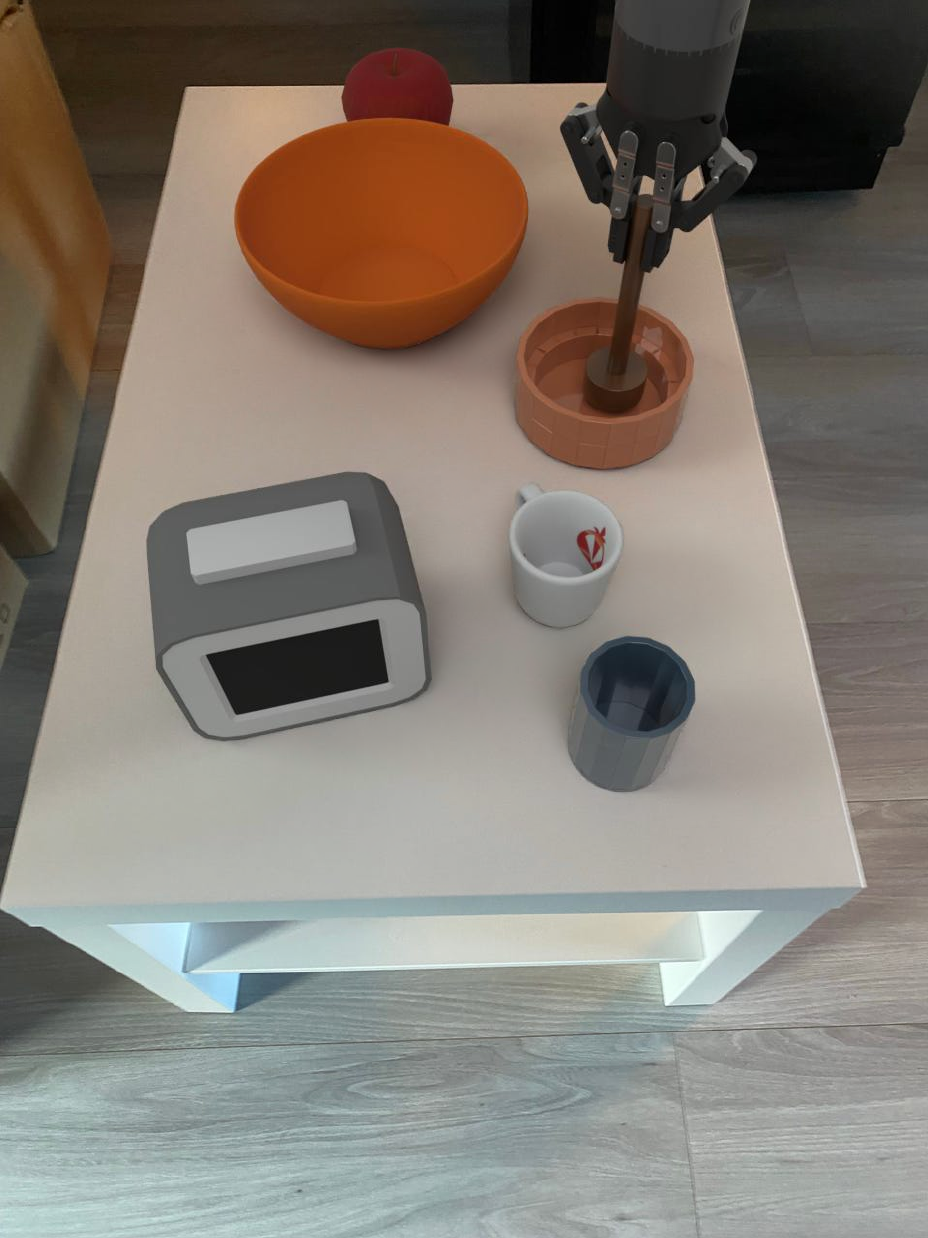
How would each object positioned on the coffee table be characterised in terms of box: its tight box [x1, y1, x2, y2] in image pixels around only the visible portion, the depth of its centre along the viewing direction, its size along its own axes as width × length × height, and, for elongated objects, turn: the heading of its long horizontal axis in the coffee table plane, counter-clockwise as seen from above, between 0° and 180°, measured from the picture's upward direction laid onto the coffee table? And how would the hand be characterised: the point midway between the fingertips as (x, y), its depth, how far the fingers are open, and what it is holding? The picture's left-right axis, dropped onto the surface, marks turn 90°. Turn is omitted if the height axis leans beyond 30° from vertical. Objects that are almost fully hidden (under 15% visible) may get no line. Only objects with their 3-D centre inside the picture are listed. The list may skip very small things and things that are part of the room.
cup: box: [507, 482, 625, 628], centre depth 69 cm, size 11×8×8 cm
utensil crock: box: [567, 635, 696, 793], centre depth 62 cm, size 7×7×9 cm
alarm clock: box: [145, 471, 432, 742], centre depth 63 cm, size 16×11×16 cm
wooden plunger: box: [582, 193, 654, 411], centre depth 73 cm, size 5×5×18 cm
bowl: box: [233, 118, 530, 350], centre depth 85 cm, size 25×25×10 cm
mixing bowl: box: [513, 296, 695, 470], centre depth 79 cm, size 14×14×6 cm
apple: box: [340, 47, 454, 126], centre depth 95 cm, size 11×11×12 cm
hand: (635, 260), depth 70 cm, fingers closed on wooden plunger, 1 cm apart
